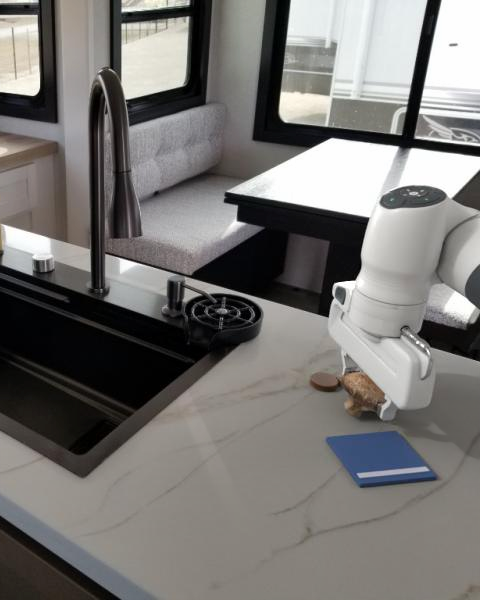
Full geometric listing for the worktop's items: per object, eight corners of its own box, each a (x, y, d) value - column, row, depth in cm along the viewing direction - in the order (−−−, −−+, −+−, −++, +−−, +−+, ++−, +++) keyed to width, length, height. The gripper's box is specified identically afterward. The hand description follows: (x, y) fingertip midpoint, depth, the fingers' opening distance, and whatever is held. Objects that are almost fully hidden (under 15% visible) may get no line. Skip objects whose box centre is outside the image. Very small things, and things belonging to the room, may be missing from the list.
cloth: (395, 433, 87) (396, 429, 86) (436, 479, 79) (437, 475, 79) (325, 440, 86) (326, 436, 85) (359, 487, 78) (360, 483, 77)
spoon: (390, 371, 100) (392, 365, 100) (405, 385, 97) (406, 380, 97) (305, 378, 99) (306, 372, 99) (316, 393, 95) (317, 387, 95)
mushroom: (330, 405, 87) (355, 366, 86) (325, 397, 95) (347, 362, 94) (386, 438, 85) (411, 398, 85) (375, 427, 93) (399, 391, 92)
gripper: (460, 349, 75) (432, 442, 81) (368, 276, 93) (351, 357, 99) (410, 353, 74) (385, 446, 80) (327, 279, 92) (312, 360, 98)
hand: (366, 396), depth 90 cm, fingers closed on mushroom, 8 cm apart
